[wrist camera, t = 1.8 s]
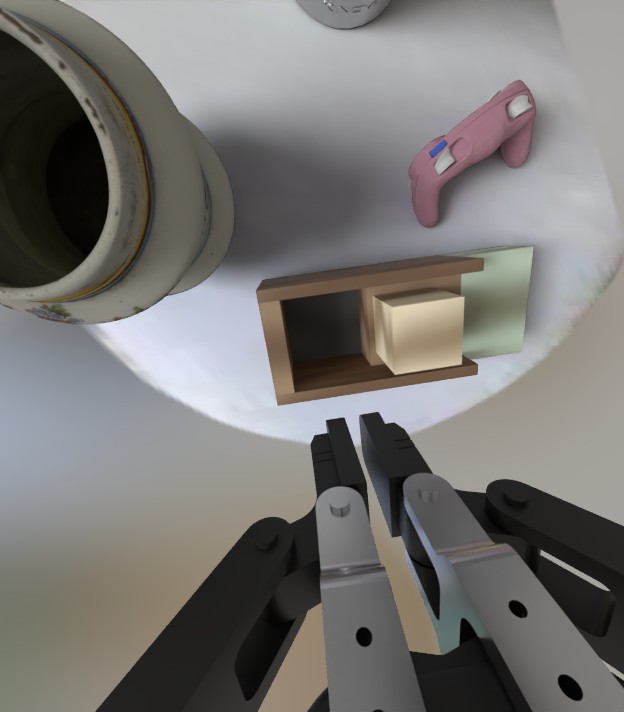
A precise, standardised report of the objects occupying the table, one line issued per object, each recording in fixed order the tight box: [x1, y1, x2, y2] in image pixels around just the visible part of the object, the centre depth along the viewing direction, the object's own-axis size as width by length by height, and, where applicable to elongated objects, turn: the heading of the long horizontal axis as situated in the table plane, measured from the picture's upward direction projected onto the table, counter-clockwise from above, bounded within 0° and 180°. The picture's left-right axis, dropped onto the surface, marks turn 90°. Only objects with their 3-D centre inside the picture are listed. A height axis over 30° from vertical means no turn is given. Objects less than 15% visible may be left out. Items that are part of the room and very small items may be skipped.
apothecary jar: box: [0, 0, 234, 324], centre depth 17 cm, size 12×12×18 cm
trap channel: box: [256, 246, 534, 406], centre depth 27 cm, size 9×22×7 cm, turn 97°
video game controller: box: [409, 80, 536, 228], centre depth 24 cm, size 10×5×7 cm, turn 125°
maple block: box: [373, 287, 464, 375], centre depth 24 cm, size 5×5×5 cm
